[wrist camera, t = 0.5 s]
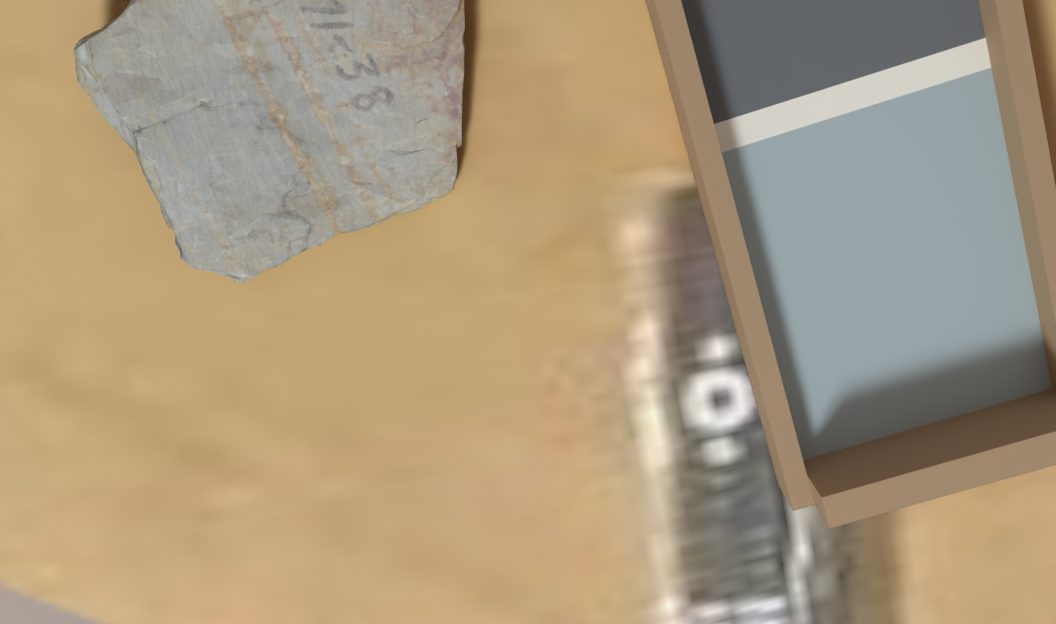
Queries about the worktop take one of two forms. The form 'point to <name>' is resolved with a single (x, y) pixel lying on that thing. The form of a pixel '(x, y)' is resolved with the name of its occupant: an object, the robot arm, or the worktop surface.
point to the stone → (281, 116)
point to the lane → (877, 236)
